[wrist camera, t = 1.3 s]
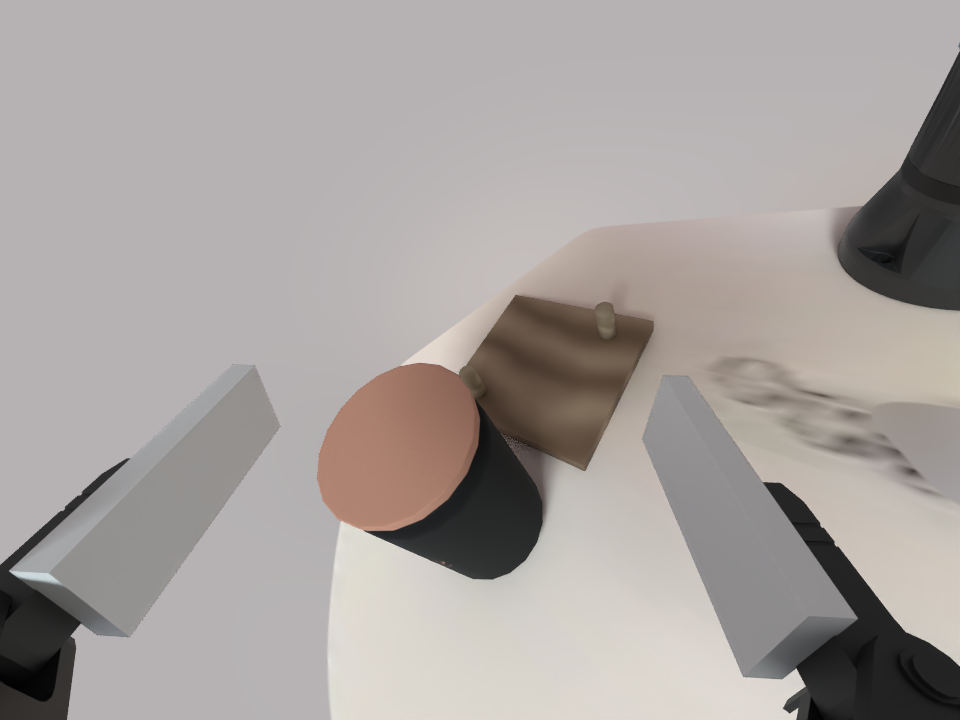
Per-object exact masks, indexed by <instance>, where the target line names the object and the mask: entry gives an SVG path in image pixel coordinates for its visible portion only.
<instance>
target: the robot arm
mask: <svg viewBox="0 0 960 720" xmlns="http://www.w3.org/2000/svg"><path fill="white" fill-rule="evenodd" d="M958 47H959V48H960V43H959V46H958ZM838 254H839V259H840V262H841V264H842V265H843V267H844V268H845V270H846V271H847V272H848V273H849V274H850V275H851V276H852V277H853V278H854V279H855V280H857V281H858V282H859V283H861V284H862V285H864V286H866V287H867V288H869V289H871V290H873V291H875V292H878V293H880V294H882V295H885V296H887V297H890V298H893V299H896V300H899V301H903V302H906V303H910V304H914V305H919V306H924V307H930V308H937V309H946V310H959V311H960V52H959V54H958V56H957V58H956V60H955V62H954V64H953V66H952V68H951V70H950V72H949V74H948V76H947V78H946V80H945V82H944V84H943V86H942V88H941V90H940V92H939V94H938V96H937V98H936V100H935V102H934V103H933V106H932V107H931V109H930V111H929V113H928V115H927V117H926V119H925V121H924V123H923V125H922V127H921V129H920V131H919V132H918V135H917V136H916V138H915V140H914V142H913V144H912V146H911V148H910V151H909V153H908V154H907V157H906V158H905V160H904V162H903V164H902V166H901V168H900V170H899V171H898V172H897V173H896V174H895V175H894V176H893V177H892V178H891V179H890V180H889V181H888V182H887V183H886V184H885V185H884V186H883V187H882V188H881V189H880V190H879V191H878V192H877V193H876V194H875V195H874V196H873V197H872V198H871V199H870V200H869V201H868V202H867V203H866V204H865V205H864V206H863V207H862V208H861V210H860V211H859V212H858V213H857V214H856V215H855V216H854V217H853V218H852V220H851V221H850V223H849V224H848V226H847V228H846V230H845V232H844V235H843V237H842V239H841V241H840V244H839V248H838ZM279 428H280V424H279V422H278V419H277V417H276V414H275V412H274V409H273V407H272V405H271V402H270V400H269V398H268V395H267V393H266V390H265V388H264V385H263V383H262V381H261V379H260V376H259V374H258V371H257V369H256V366H255V365H235V364H232V365H231V366H230V367H229V368H228V369H227V370H226V371H225V372H224V373H223V374H222V375H221V376H219V378H217V379H216V380H215V381H214V382H213V383H212V384H211V385H210V386H209V387H207V389H205V390H204V391H203V392H202V393H201V394H200V395H199V396H198V397H197V398H196V399H195V400H194V401H192V402H191V403H190V404H189V405H188V406H187V407H186V408H185V409H184V410H183V411H182V412H180V413H179V414H178V415H177V416H176V417H175V418H174V419H173V420H172V421H171V422H170V423H169V424H168V425H166V426H165V427H164V428H163V429H162V430H161V431H160V432H159V433H158V434H157V435H156V436H154V437H153V438H152V439H151V440H150V441H149V442H148V443H147V444H146V445H145V446H144V447H143V448H141V449H140V450H139V451H138V452H137V453H136V454H135V455H134V456H133V457H132V458H131V459H130V458H129V459H125V460H124V461H122V462H120V463H119V464H117V465H116V466H114V467H112V468H111V469H109V470H107V471H106V472H104V473H103V474H101V475H100V476H99V477H98V478H97V479H96V480H95V481H93V482H92V483H91V484H90V485H89V486H88V487H87V488H86V489H85V490H83V492H82V495H80V496H77V497H76V498H75V499H74V500H72V501H71V502H70V503H69V504H68V505H67V506H66V507H65V510H64V511H60V512H59V513H58V514H57V515H56V516H54V517H53V518H52V519H51V520H50V521H49V522H48V523H47V524H45V525H44V526H43V527H42V528H41V529H40V530H39V531H38V532H37V533H35V534H34V535H33V536H32V537H31V538H30V539H29V540H28V541H27V542H25V543H24V545H22V546H21V547H20V548H19V549H18V550H17V551H15V552H14V553H13V554H12V555H11V556H10V557H9V558H8V559H6V560H5V561H4V562H3V563H2V564H1V565H0V720H67V715H68V707H69V699H70V691H71V683H72V675H73V668H74V660H75V652H76V645H75V639H74V638H72V637H71V635H72V633H73V632H74V631H75V630H76V628H77V627H78V626H79V625H80V624H83V625H84V626H85V627H87V628H88V629H89V630H91V631H92V632H93V633H95V634H96V635H104V636H119V637H130V636H131V635H132V634H133V632H134V631H135V629H136V628H137V627H138V625H139V624H140V622H141V621H142V620H143V618H144V617H145V615H146V614H147V613H148V611H149V610H150V608H151V607H152V605H153V604H154V603H155V601H156V600H157V599H158V597H159V596H160V594H161V593H162V591H163V590H164V589H165V587H166V586H167V584H168V583H169V582H170V580H171V579H172V578H173V576H174V575H175V573H176V572H177V571H178V569H179V568H180V566H181V565H182V563H183V562H184V561H185V559H186V558H187V557H188V555H189V554H190V552H191V551H192V550H193V548H194V546H195V545H196V544H197V542H198V541H199V540H200V538H201V537H202V536H203V534H204V533H205V531H206V530H207V529H208V527H209V526H210V524H211V523H212V521H213V520H214V519H215V517H216V516H217V515H218V513H219V512H220V510H221V509H222V508H223V506H224V505H225V503H226V502H227V500H228V499H229V498H230V496H231V495H232V494H233V492H234V491H235V489H236V488H237V487H238V485H239V484H240V482H241V481H242V480H243V478H244V477H245V476H246V474H247V472H248V471H249V470H250V469H251V467H252V465H253V464H254V463H255V462H256V460H257V459H258V457H259V456H260V455H261V453H262V452H263V450H264V449H265V448H266V446H267V445H268V443H269V442H270V440H271V439H272V437H273V436H274V435H275V434H276V432H277V431H278V429H279ZM642 439H643V442H644V444H645V446H646V449H647V451H648V454H649V456H650V458H651V461H652V463H653V465H654V468H655V470H656V472H657V475H658V477H659V480H660V482H661V484H662V487H663V489H664V491H665V494H666V496H667V498H668V501H669V503H670V505H671V508H672V510H673V513H674V515H675V517H676V520H677V522H678V524H679V527H680V529H681V531H682V534H683V536H684V539H685V541H686V543H687V546H688V548H689V550H690V553H691V555H692V557H693V560H694V562H695V564H696V567H697V569H698V572H699V574H700V576H701V579H702V581H703V583H704V586H705V588H706V590H707V593H708V595H709V598H710V600H711V602H712V605H713V607H714V609H715V612H716V614H717V616H718V619H719V621H720V623H721V626H722V628H723V631H724V633H725V635H726V638H727V640H728V642H729V645H730V647H731V649H732V652H733V654H734V657H735V659H736V661H737V664H738V666H739V668H740V671H741V673H742V675H743V677H753V678H769V679H783V678H784V677H786V676H787V675H788V674H790V673H791V672H792V671H793V670H795V669H796V668H797V670H798V672H799V674H800V676H801V678H802V680H803V682H804V684H805V685H806V687H804V688H803V689H802V690H800V691H799V692H798V693H796V694H795V695H793V696H792V697H791V698H789V699H788V700H787V702H786V704H785V706H784V707H783V709H785V710H786V711H787V712H788V713H791V712H792V711H794V710H795V709H797V708H798V707H799V708H798V714H797V720H960V666H959V665H958V664H956V663H955V662H954V661H953V660H952V659H951V658H950V657H949V656H947V655H946V654H944V653H943V652H941V651H940V650H939V649H937V648H936V647H934V646H933V645H931V644H930V643H928V642H926V641H924V640H922V639H920V638H917V637H915V636H913V635H911V634H909V633H906V632H905V631H904V630H903V629H902V627H901V626H900V625H899V624H898V623H897V622H896V621H895V619H894V618H893V617H892V616H891V614H890V613H889V612H888V610H887V609H886V608H885V607H884V605H883V604H882V603H881V601H880V600H879V599H878V597H877V596H876V595H875V594H874V592H873V591H872V590H871V588H870V587H869V586H868V585H867V583H866V582H865V581H864V579H863V578H862V577H861V575H860V574H859V573H858V572H857V570H856V569H855V568H854V566H853V565H852V564H851V562H850V561H849V560H848V559H847V557H846V556H845V555H844V553H843V552H842V551H841V549H840V548H839V547H836V546H835V544H834V540H833V539H832V538H831V537H830V535H829V534H828V533H827V531H826V530H825V529H824V528H821V526H820V522H819V521H818V520H817V518H816V517H815V516H814V514H813V513H812V512H811V511H810V509H809V508H808V507H807V505H806V504H805V503H804V502H803V501H802V500H801V499H800V498H798V497H797V496H796V495H795V494H794V493H792V492H791V491H790V490H789V489H787V488H786V487H785V486H784V485H783V484H781V483H768V482H762V481H761V479H760V478H759V476H758V475H757V474H756V472H755V471H754V469H753V468H752V466H751V465H750V464H749V462H748V461H747V459H746V458H745V456H744V455H743V454H742V452H741V451H740V449H739V448H738V446H737V445H736V444H735V442H734V441H733V439H732V438H731V436H730V435H729V434H728V432H727V431H726V429H725V428H724V426H723V425H722V424H721V422H720V421H719V419H718V418H717V416H716V415H715V414H714V412H713V411H712V409H711V408H710V406H709V405H708V404H707V402H706V401H705V399H704V398H703V396H702V395H701V394H700V392H699V391H698V389H697V388H696V386H695V385H694V384H693V382H692V381H691V379H690V378H689V376H663V377H662V380H661V383H660V386H659V390H658V393H657V396H656V399H655V402H654V405H653V408H652V411H651V414H650V417H649V420H648V423H647V426H646V429H645V432H644V435H643V438H642Z"/></svg>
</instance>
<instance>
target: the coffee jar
mask: <svg viewBox="0 0 960 720" xmlns="http://www.w3.org/2000/svg"><path fill="white" fill-rule="evenodd" d="M317 480H318V484H319V487H320V491H321V495H322V499H323V502H324V503H325V504H326V505H327V506H328V508H329V509H330V510H331V511H332V513H333V514H334V515H335V516H336V518H337V519H338V520H341V521H343V522H345V523H347V524H350V525H352V526H354V527H356V528H359V529H362V530H364V531H365V532H367V533H369V534H372V535H374V536H376V537H378V538H381V539H383V540H385V541H387V542H390V543H392V544H394V545H397V546H399V547H401V548H403V549H406V550H408V551H410V552H413V553H415V554H417V555H419V556H422V557H424V558H426V559H429V560H431V561H433V562H435V563H438V564H440V565H442V566H445V567H447V568H449V569H451V570H454V571H456V572H458V573H461V574H463V575H465V576H467V577H470V578H472V579H494V578H497V577H500V576H503V575H505V574H508V573H510V572H512V571H513V570H514V569H515V568H517V567H518V566H519V565H520V564H521V563H523V562H524V561H525V560H526V559H527V557H528V556H529V554H530V552H531V551H532V549H533V548H534V546H535V545H536V543H537V540H538V537H539V533H540V529H541V526H542V502H541V499H540V496H539V493H538V490H537V487H536V485H535V483H534V482H533V480H532V479H531V477H530V476H529V475H528V473H527V472H526V470H525V469H524V467H523V466H522V464H521V463H520V461H519V460H518V458H517V457H516V456H515V454H514V453H513V451H512V450H511V448H510V447H509V445H508V444H507V442H506V441H505V439H504V438H503V437H502V435H501V434H500V432H499V431H498V429H497V428H496V426H495V425H494V423H493V422H492V421H491V419H490V418H489V416H488V415H487V413H486V412H485V411H484V409H483V408H482V407H481V405H480V404H479V403H478V402H477V400H476V399H475V398H474V396H473V394H472V392H471V390H470V389H469V388H468V387H467V385H466V384H465V383H464V382H463V380H462V379H461V378H460V377H459V375H457V374H456V373H454V372H452V371H450V370H448V369H446V368H444V367H442V366H440V365H434V364H426V363H416V364H410V365H405V366H399V367H397V368H394V369H392V370H390V371H388V372H385V373H383V374H381V375H379V376H377V377H376V378H374V379H373V380H371V381H370V382H369V383H367V384H366V385H365V386H363V387H362V388H360V389H359V390H358V391H357V392H356V393H355V394H354V395H353V396H352V397H351V398H350V399H349V400H348V402H347V403H346V404H345V405H344V406H343V407H342V408H341V409H340V411H339V412H338V414H337V416H336V417H335V419H334V421H333V422H332V424H331V425H330V427H329V429H328V430H327V433H326V436H325V439H324V441H323V444H322V447H321V450H320V453H319V461H318V474H317Z"/></svg>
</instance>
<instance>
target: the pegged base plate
mask: <svg viewBox="0 0 960 720" xmlns="http://www.w3.org/2000/svg"><path fill="white" fill-rule="evenodd" d="M652 332H653V321H649V320H644V319H639V318H633V317H628V316H623V315H618V314H614V309H613V305H612V304H611V303H608V302H603V303H600V304H598V305H597V306H596V308H595V310H592V309H586V308H581V307H576V306H571V305H565V304H560V303H555V302H550V301H544V300H539V299H534V298H529V297H523V296H518V295H515V297H514V298H513V300H512V301H511V303H510V304H509V305H508V307H507V308H506V310H505V311H504V312H503V314H502V315H501V317H500V318H499V320H498V321H497V322H496V324H495V325H494V327H493V328H492V330H491V331H490V332H489V334H488V335H487V337H486V338H485V339H484V341H483V342H482V344H481V345H480V347H479V348H478V349H477V351H476V352H475V354H474V355H473V357H472V358H471V359H470V361H469V362H468V364H467V365H466V366H465V367H463V368H462V369H461V370H460V372H459V377H460V378H461V379H462V380H463V382H464V383H465V384H466V385H467V387H468V388H469V389H470V390H471V392H472V394H473V396H474V398H475V399H476V400H477V402H478V403H479V404H480V405H481V407H482V408H483V409H484V411H485V412H486V413H487V415H488V416H489V418H490V419H491V421H492V422H493V423H494V425H495V426H496V428H497V429H498V431H499V432H501V433H503V434H505V435H507V436H510V437H512V438H514V439H516V440H518V441H520V442H523V443H525V444H527V445H529V446H531V447H533V448H536V449H538V450H540V451H542V452H544V453H547V454H549V455H551V456H553V457H555V458H557V459H560V460H562V461H564V462H566V463H568V464H570V465H573V466H575V467H577V468H579V469H581V470H583V471H585V470H586V468H587V466H588V464H589V462H590V460H591V458H592V456H593V454H594V452H595V450H596V448H597V446H598V443H599V441H600V439H601V437H602V435H603V433H604V431H605V429H606V427H607V425H608V423H609V421H610V419H611V417H612V415H613V413H614V410H615V408H616V406H617V404H618V402H619V400H620V398H621V396H622V394H623V392H624V390H625V388H626V386H627V384H628V382H629V379H630V377H631V375H632V373H633V371H634V369H635V367H636V365H637V363H638V361H639V359H640V357H641V355H642V353H643V351H644V349H645V346H646V344H647V342H648V340H649V338H650V336H651V334H652Z"/></svg>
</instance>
